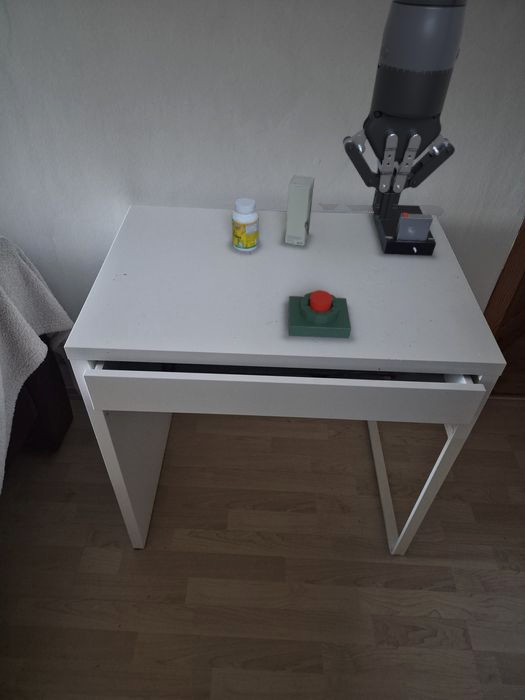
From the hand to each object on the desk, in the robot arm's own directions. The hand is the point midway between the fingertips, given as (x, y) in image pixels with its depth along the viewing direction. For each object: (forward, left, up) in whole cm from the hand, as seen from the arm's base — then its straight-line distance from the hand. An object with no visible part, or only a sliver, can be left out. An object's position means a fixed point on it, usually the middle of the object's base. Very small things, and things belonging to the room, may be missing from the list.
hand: (382, 217), depth 57 cm
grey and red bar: (+1, -32, -20) cm, 38 cm away
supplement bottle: (+31, -16, -23) cm, 41 cm away
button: (+7, -2, -19) cm, 21 cm away
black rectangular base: (+3, -36, -23) cm, 43 cm away
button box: (+7, -2, -23) cm, 24 cm away
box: (+23, -24, -23) cm, 40 cm away
